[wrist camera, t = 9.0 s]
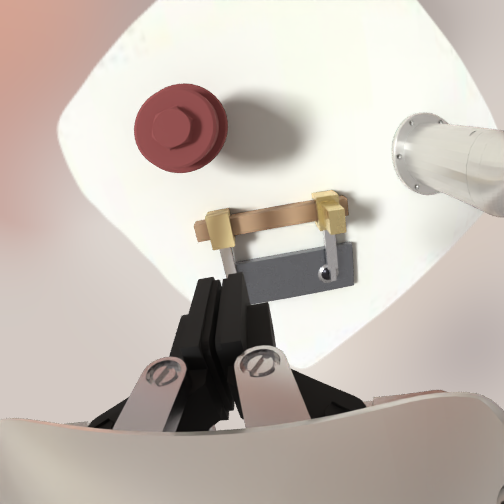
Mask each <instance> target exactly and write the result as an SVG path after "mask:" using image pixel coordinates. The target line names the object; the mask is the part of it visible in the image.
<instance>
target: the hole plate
mask: <svg viewBox="0 0 504 504" xmlns="http://www.w3.org/2000/svg"><path fill="white" fill-rule="evenodd" d="M336 248H337V261H338V268H336V281H331V280H330V276H329V270H328V269H327V267H326V256H325V246H323V247H318V248H312V249H307V250H301V251H296V252H290V253H284V254H279V255H273V256H268V257H262V258H256V259H251V260H245V261H240V262H235V266H236V270H237V273H239V272H243V274H244V278H245V282H246V286H247V291H248V295H249V300H250V304H256V303H262V302H268V301H274V300H280V299H285V298H291V297H296V296H301V295H307V294H312V293H317V292H322V291H327V290H332V289H337V288H342V287H347V286H352V285H354V274H353V252H352V243H351V242H345V243H340V244H336ZM224 270H225V269H224ZM225 274H226V273H225ZM226 278H227V277H226Z"/></svg>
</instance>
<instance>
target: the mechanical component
mask: <svg viewBox="0 0 504 504" xmlns="http://www.w3.org/2000/svg"><path fill="white" fill-rule="evenodd" d="M227 131H228V121H227V116H226V113H225V110H224V108H223V106H222V104H221V103H220V101H219V100H218V99H217V98H216V97H215V96H214V95H213V94H212V93H211V92H210V91H208V90H206V89H205V88H202V87H200V86H197V85H193V84H176V85H171V86H168V87H166V88H164V89H162V90H160V91H159V92H157V93H155V94H154V95H152V96H151V97H150V98H149V99H148V100H146V101H145V103H144V104H143V105H142V107H141V108H140V110H139V112H138V114H137V117H136V120H135V126H134V135H135V140H136V144H137V146H138V149H139V150H140V152H141V153H142V155H143V156H144V157H145V158H146V159H147V160H148V161H149V162H151V163H152V164H154V165H155V166H157V167H159V168H161V169H163V170H165V171H169V172H174V173H186V172H191V171H195V170H197V169H200V168H202V167H204V166H205V165H207V164H208V163H209V162H211V161H212V160H213V159H214V158H215V157H216V156H217V154H218V153H219V152H220V150H221V149H222V147H223V145H224V143H225V140H226V137H227Z"/></svg>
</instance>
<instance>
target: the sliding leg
mask: <svg viewBox="0 0 504 504" xmlns="http://www.w3.org/2000/svg"><path fill="white" fill-rule="evenodd" d="M312 199H313V200H314V201H315V202H316V209H317V218H318V221H315V224H316V225H317V227H318V228H319V230H320V231H323V236H324V246H325V256H326V267H327V269H328V270H329V276H330V280H331V281H336V268H338V261H337V248H336V236H335V234H340V233H346V220H345V209H344V208H343V207H342V206H341V205H340V204H339V196H338V194H337V193H336V192H334V191H333V190H329V191H322V192H316V193H312Z"/></svg>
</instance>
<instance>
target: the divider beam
mask: <svg viewBox="0 0 504 504" xmlns="http://www.w3.org/2000/svg"><path fill="white" fill-rule="evenodd" d="M339 204H340V205H341V206H342V207H343V208H344V209H345V216H348V215H349V212H348V201H347V198H346V197H344V196H343V195H342V196H339ZM312 221H318V218H317V209H316V202H315V201H314V200H310V201H304V202H298V203H292V204H287V205H281V206H275V207H269V208H264V209H258V210H253V211H247V212H242V213H237V214H231V215H230V210H229V208H226V209H220V210H215V211H210V212H208V213H207V215H206V217H205V220H201V221H196V222H195V224H194V229H195V233H196V237H197V240H198V242H202V241H207V240H211V244H212V248H213V250H218V249H220V253H221V257H222V261H223V265H224V269H225V273H226V277H227V278H228V274H233V273H237V270H236V266H235V261H234V257H233V253H232V248H231V247H234V246H235V240H236V237H235V235H239V234H245V233H250V232H256V231H261V230H267V229H272V228H278V227H284V226H289V225H295V224H301V223H307V222H312Z"/></svg>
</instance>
